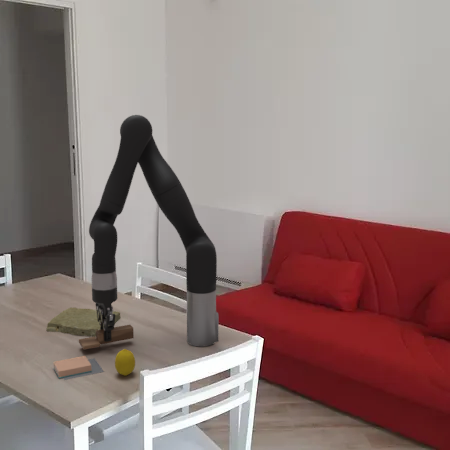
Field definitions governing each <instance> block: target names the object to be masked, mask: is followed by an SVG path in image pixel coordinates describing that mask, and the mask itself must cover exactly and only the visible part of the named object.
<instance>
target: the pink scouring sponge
mask: <svg viewBox="0 0 450 450" xmlns="http://www.w3.org/2000/svg"><path fill="white" fill-rule="evenodd" d="M88 359H89V358H87V357H86V355H82V356H77V357H72V358H71V357H70V358H65V359H60V360H56V361H55V360H54V361H53V370H54V372H55V374H56V375H57V377H58V379H62V378H63V379H64V377H69V376H73V375H78V374H83V373H88V372H92V368H91V364H90V362H89V361H88Z"/></svg>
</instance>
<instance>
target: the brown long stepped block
mask: <svg viewBox="0 0 450 450" xmlns="http://www.w3.org/2000/svg"><path fill="white" fill-rule="evenodd" d="M134 338H135V337H134V327H133V326H132V325H131V324H124V325H120V326H116V327H115V326H114V329H113V330H111V339H112V340H111V341H108V342H105V341H104V330H103V329H102V330H96V337H92V336H88V337H86V338H80V339H78V343H79V345H80V346H81V348H82V350H90V349H95V348H99V347H101V345H105V344H110V343H115V342H121V341H126V340H131V339H134Z"/></svg>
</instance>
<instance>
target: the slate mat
mask: <svg viewBox="0 0 450 450" xmlns="http://www.w3.org/2000/svg"><path fill="white" fill-rule="evenodd" d="M87 359H88V361H89V362H90V364H91V368H92V372H88V373H83V374H78V375H73V376H69V377H64V378H63V380H64V381H67V380H72V379H76V378H81V377H85V376H90V375H95V374H99V373H104V372H105V371H104V369H103V368H102V366H101V365H100V364H99V362H98V361H97V359H96V358H95V357H93V358H87Z"/></svg>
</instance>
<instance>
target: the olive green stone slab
mask: <svg viewBox="0 0 450 450" xmlns="http://www.w3.org/2000/svg"><path fill="white" fill-rule="evenodd" d="M113 314H115V323H114V325H115V324H117V322H119V320H120V319H122V318H121V312H120V311H114V310H113ZM108 326H109V325H108ZM45 330H46V331H47V332H50V333H51V332H52V333H62V334H69V335H72V336H79V337H80V336H82V337H96V330H100V325H99V322H98V318H97V311H96V309H91V308H80V307H79V308H78V307H68V308H66V309H65V310H63V311H62V312H60V313H59V314H57V315H56V316H54V317H52V319H50V320H49V322H47V324H46V329H45Z"/></svg>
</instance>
